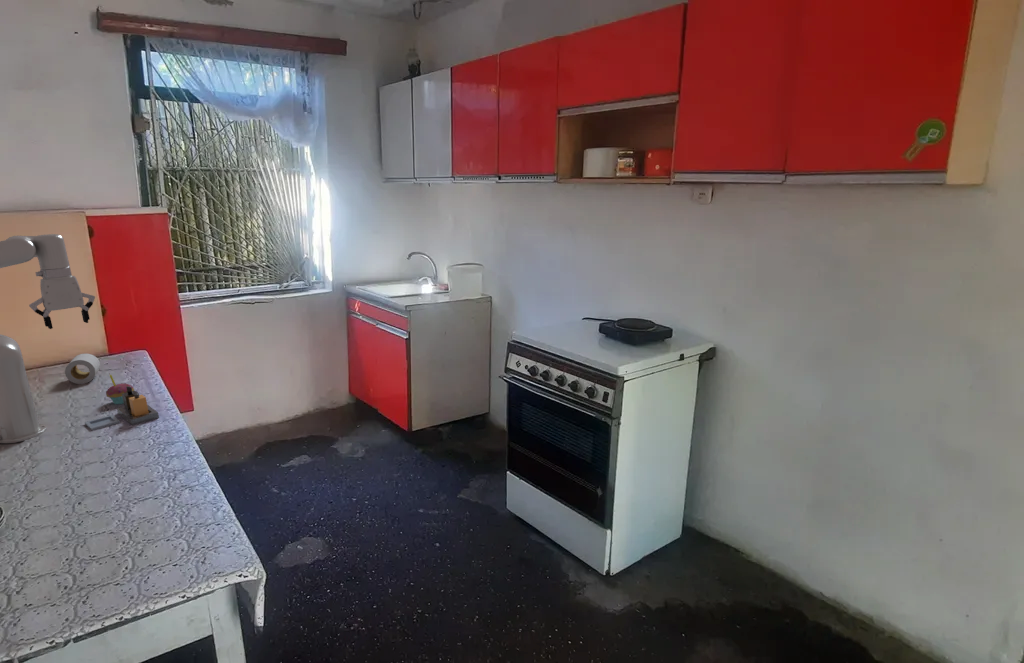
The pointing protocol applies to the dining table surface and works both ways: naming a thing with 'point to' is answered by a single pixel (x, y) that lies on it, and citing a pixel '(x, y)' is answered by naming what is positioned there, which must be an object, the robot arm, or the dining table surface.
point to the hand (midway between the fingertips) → (68, 325)
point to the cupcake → (117, 391)
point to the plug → (138, 405)
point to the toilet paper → (79, 376)
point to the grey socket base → (127, 414)
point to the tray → (102, 422)
